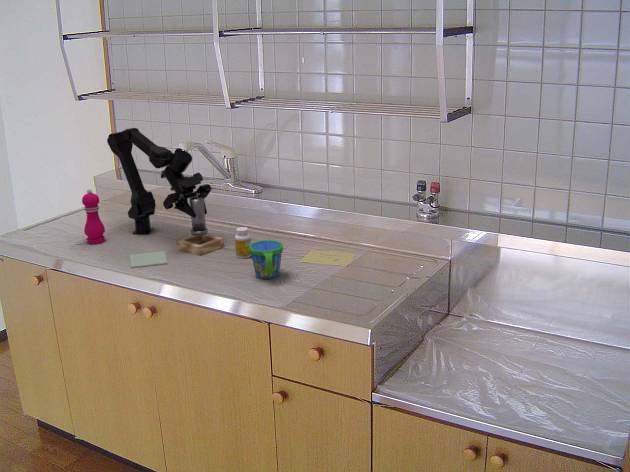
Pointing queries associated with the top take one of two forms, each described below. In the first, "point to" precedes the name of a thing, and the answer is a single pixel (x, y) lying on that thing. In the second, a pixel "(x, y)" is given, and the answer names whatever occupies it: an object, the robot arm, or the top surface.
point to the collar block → (208, 244)
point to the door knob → (198, 216)
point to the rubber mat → (148, 259)
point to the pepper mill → (93, 219)
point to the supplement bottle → (242, 243)
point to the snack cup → (266, 258)
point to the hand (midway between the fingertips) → (200, 215)
